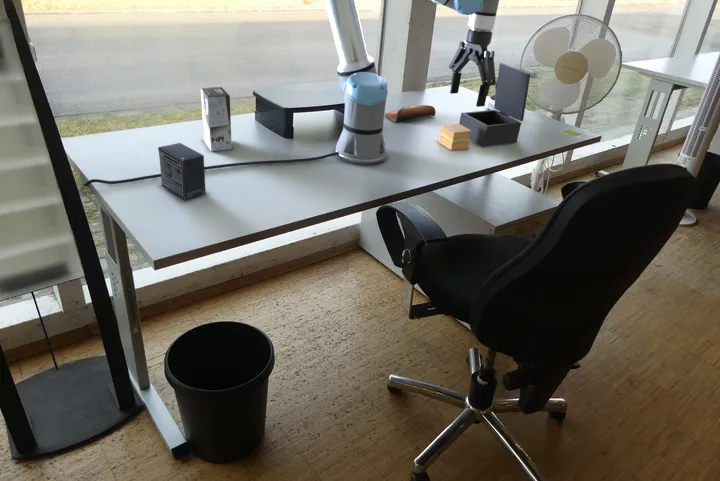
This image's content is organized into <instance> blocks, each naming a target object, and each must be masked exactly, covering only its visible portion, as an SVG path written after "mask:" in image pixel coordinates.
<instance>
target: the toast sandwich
mask: <svg viewBox="0 0 720 481" xmlns="http://www.w3.org/2000/svg"><path fill="white" fill-rule="evenodd" d="M470 136H471V130H469V129H468V128H466V127H464V126H462V125H461V124H459V123H450V124H441V127H440V134H439V138H438V143H439V144H440V145H442V146H443V147H445V148H446V149H448V150H450V151H456V150H464V149H469V145H470V139H469V138H470Z"/></svg>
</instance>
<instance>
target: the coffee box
mask: <svg viewBox="0 0 720 481" xmlns="http://www.w3.org/2000/svg"><path fill="white" fill-rule="evenodd" d="M200 96H201V98H200V99H201V110H202V125H203V126H202V127H203V141H204V143H205V144H206V146H207V147H208V149H209V150H210V151H211V152H217V151H229V150H232V146H233V144H232V121H231V120H232V119H231V96H230V94H229V93H228V92H227V91H226V90H225V89H224V88H223V87H222V86H211V87H209V86H208V87H201V88H200Z"/></svg>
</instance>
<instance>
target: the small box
mask: <svg viewBox="0 0 720 481" xmlns="http://www.w3.org/2000/svg"><path fill="white" fill-rule="evenodd" d="M157 151H158V157H159V165H160V166H159V168H160V174H161V177H160V178H161V187H162V188H164V189H166V190H167V191H168V192H171V193H172V194H174V195H175V196H177V197H178V198H180V199H181V200H183V201H187V200H191V199H194V198H197V197H200V196H204V195H206V193H207V192H206V176H205V175H206V174H205V170H204V167H205V155H204V154H202V153H201V152H199V151H196V150H195V149H193V148H191V147H189V146H187V145H185V144H183V143H181V142H177V143H172V144H168V145H167V144H166V145H162V146H158V148H157Z"/></svg>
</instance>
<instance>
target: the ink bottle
mask: <svg viewBox="0 0 720 481" xmlns="http://www.w3.org/2000/svg"><path fill="white" fill-rule="evenodd" d="M497 81H498V78H497V79H496V84H495V85H494V91H492V92H491V93H490V95H489V99H488V100H489V101H488V105H487V110H496V109H494V105H495V97H496V89H497ZM496 111H498V110H496ZM498 112H500V111H498ZM500 113H502V112H500ZM502 114H504V113H502ZM504 115H506V116H508V115H507V114H504Z"/></svg>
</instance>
